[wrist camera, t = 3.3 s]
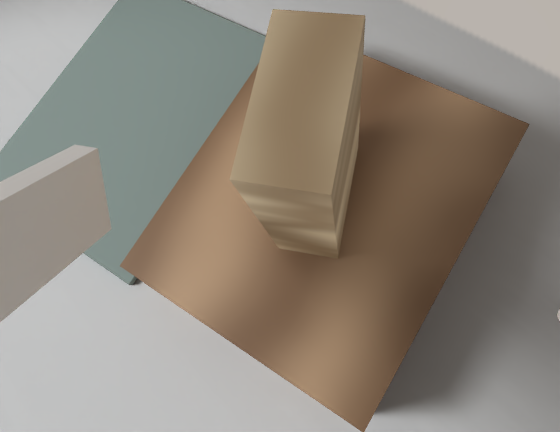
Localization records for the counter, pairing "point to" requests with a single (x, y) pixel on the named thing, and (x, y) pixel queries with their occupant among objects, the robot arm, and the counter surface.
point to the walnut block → (354, 246)
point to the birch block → (303, 129)
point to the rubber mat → (139, 108)
